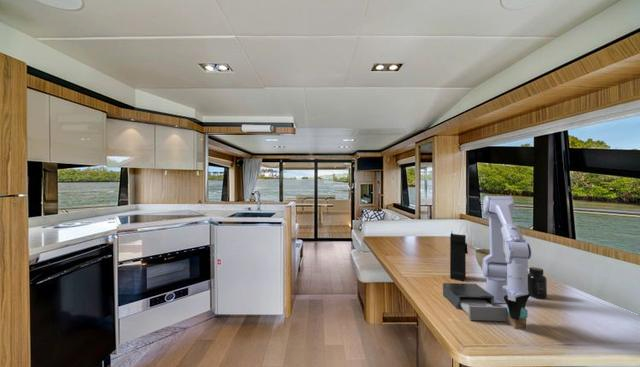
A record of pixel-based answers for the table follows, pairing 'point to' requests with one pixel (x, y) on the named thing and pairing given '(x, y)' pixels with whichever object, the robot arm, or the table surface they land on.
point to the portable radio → (458, 256)
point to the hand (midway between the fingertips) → (517, 316)
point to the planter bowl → (483, 255)
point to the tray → (483, 310)
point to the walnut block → (517, 322)
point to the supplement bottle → (537, 283)
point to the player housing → (465, 293)
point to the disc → (523, 312)
